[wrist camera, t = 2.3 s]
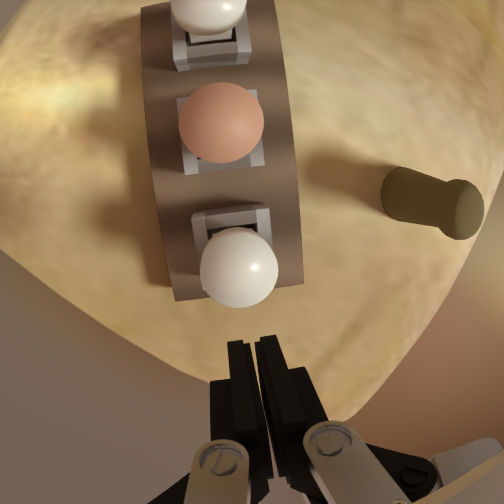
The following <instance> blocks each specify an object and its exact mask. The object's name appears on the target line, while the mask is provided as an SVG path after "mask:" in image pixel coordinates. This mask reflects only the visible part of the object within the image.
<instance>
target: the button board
mask: <svg viewBox="0 0 504 504" xmlns="http://www.w3.org/2000/svg"><path fill="white" fill-rule="evenodd" d="M141 55H142V77H143V93H144V106H145V118H146V128H147V138H148V147H149V155H150V163H151V171H152V178H153V185H154V192H155V199H156V205H157V211H158V217H159V223H160V229H161V234H162V240H163V245H164V250H165V255H166V260H167V265H168V270H169V275H170V280H171V284H172V289H173V293H174V298H175V302H176V301H185V300H193V299H201V298H209V297H210V296H209V295H208V294H207V292H206V291H205V289H204V287H203V285H202V282H201V279H200V265H201V259H202V253H203V250H204V248H205V246H206V244H207V243H208V241H209V240H210V239H211V238H212V233H218V232H220V231H222V230H225V229H228V228H232V227H243V228H248V229H250V228H252V229H253V231H255V232H257V233H258V234H260V235H261V236H262V237H263V238H264V239H265V240H266V241H267V243H268V245H269V246H270V248H271V249H272V251H273V253H274V255H275V257H276V259H277V263H278V277H277V281H276V284H275V286H274V288H279V287H286V286H292V285H299V284H304V274H303V254H302V237H301V222H300V208H299V195H298V183H297V171H296V160H295V150H294V140H293V131H292V122H291V113H290V105H289V97H288V89H287V81H286V74H285V67H284V60H283V53H282V46H281V40H280V33H279V27H278V21H277V15H276V9H275V4H274V0H247V1H246V6H245V11H244V14H243V17H242V19H241V20H240V22H239V23H238V24H237V25H236V26H235V27H233V28H232V35H231V39H222V40H212V41H204V42H196V43H191V40H190V35H189V32H187V31H185V30H184V29H182V28H181V27H180V26H179V25H178V24H177V22H176V20H175V18H174V14H173V11H172V7H171V4H170V2H165V3H160V4H155V5H150V6H146V7H142V8H141ZM220 82H225V83H232V84H236V85H239V86H241V87H243V88H245V89H246V90H248V91H249V92H250V93H251V94H252V95H253V96H254V97H255V98H256V99H257V101H258V102H259V104H260V106H261V109H262V112H263V117H264V127H263V132H262V135H261V138H260V140H259V142H258V143H257V145H256V146H255V147H254V148H253V149H252V151H251V152H249V153H248V154H247V155H245V156H244V157H242V158H240V159H238V160H235V161H232V162H227V163H213V162H208V161H205V160H203V159H201V158H199V157H197V156H196V155H194V154H193V153H192V152H191V151H190V150H189V149H188V148H187V147H186V145H185V144H184V142H183V140H182V138H181V135H180V132H179V115H180V112H181V109H182V107H183V105H184V103H185V101H186V100H187V99H188V98H189V96H190V95H191V94H193V93H194V92H195V91H196V90H198V89H200V88H201V87H203V86H206V85H209V84H212V83H220Z"/></svg>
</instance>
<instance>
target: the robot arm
mask: <svg viewBox="0 0 504 504" xmlns="http://www.w3.org/2000/svg"><path fill="white" fill-rule="evenodd" d="M227 346H228V358H229V370H230V379H224V380H216V381H210V426H211V427H210V430H211V442H208V443H206V444H204V445H203V446H201V447H200V448H199V449H198V450H197V452H196V453H195V455H194V458H193V462H192V466H191V471H190V473H188V474H187V475H186V476H185V477H183V478H182V479H180V480H179V481H178V482H177V483H175V484H174V485H173V486H171V487H170V488H169V489H167V490H166V491H164V492H163V493H162V494H160V495H159V496H158V497H156V498H155V499H153V500H152V501H150V502H149V503H148V504H260V501H261V500H262V499H263V498H264V497H265V496H266V495H267V494H268V493H269V486H268V480H267V479H273V478H274V476H273V467H272V460H271V452H270V445H269V437H268V430H269V435H270V439H271V443H272V448H273V452H274V457H275V461H276V466H277V470H278V474H279V477H284V476H286V480H287V484H290V487H291V488H293V489H295V490H297V491H299V492H301V493H302V495H303V498H304V500H305V501H306V503H307V504H504V450H503V449H502V446H501V445H500V444H499V442H498V441H496V440H494V439H491V438H484V439H480V440H477V441H475V442H472V443H469V444H466V445H464V446H461V447H458V448H455V449H452V450H449V451H445V452H442V453H439V454H435V455H434V456H433V457H432V458H430V459H424V458H421V457H417V456H412V455H408V454H404V453H400V452H396V451H392V450H387V449H384V448H380V447H377V446H373V445H370V444H366V443H364V441H363V440H362V439H361V438H360V437H359V435H358V434H357V432H356V431H355V430H354V429H353V428H352V427H351V426H350V425H348V424H346V423H344V422H340V421H329V420H328V418H327V415H326V413H325V411H324V409H323V406H322V404H321V402H320V400H319V397H318V395H317V393H316V390H315V388H314V386H313V384H312V381H311V379H310V377H309V375H308V372H307V370H306V368H305V367H304V366H303V367H299V368H293V369H288V367H287V364H286V362H285V359H284V356H283V353H282V350H281V348H280V345H279V342H278V339H277V336H276V335H270V336H264V337H260V341H259V342H255V351H256V358H257V366H258V374H259V381H260V389H261V395H260V391H259V386H258V381H257V376H256V372H255V367H254V362H253V357H252V352H251V347H250V343H246V344H243V340H237V341H230V342H227ZM261 396H262V400H261ZM262 402H263V405H262ZM263 407H264V409H263ZM264 412H265V414H264ZM265 416H266V419H265ZM266 421H267V424H266ZM267 425H268V430H267Z"/></svg>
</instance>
